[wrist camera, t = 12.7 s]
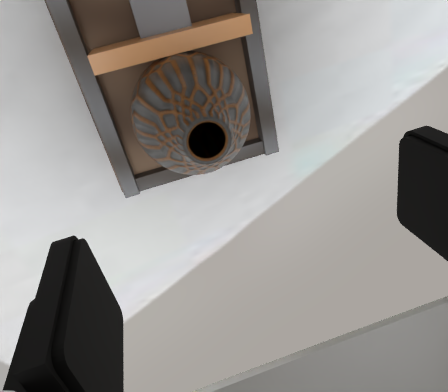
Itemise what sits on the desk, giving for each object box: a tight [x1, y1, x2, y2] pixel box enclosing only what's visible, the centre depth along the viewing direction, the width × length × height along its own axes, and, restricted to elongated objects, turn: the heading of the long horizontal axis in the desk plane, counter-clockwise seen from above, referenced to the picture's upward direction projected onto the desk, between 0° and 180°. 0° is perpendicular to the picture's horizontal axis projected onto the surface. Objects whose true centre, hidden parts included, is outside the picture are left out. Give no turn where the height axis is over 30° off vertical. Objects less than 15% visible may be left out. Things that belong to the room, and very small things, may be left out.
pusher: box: [87, 0, 253, 76], centre depth 20 cm, size 4×9×4 cm, turn 102°
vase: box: [131, 51, 251, 175], centre depth 21 cm, size 7×7×9 cm
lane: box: [45, 0, 279, 198], centre depth 20 cm, size 22×12×6 cm, turn 12°
